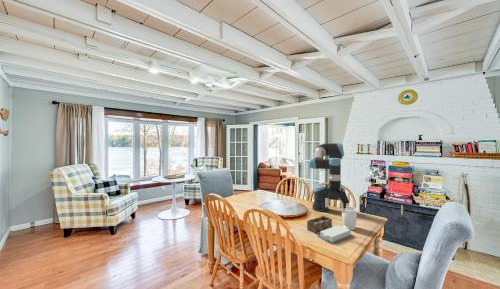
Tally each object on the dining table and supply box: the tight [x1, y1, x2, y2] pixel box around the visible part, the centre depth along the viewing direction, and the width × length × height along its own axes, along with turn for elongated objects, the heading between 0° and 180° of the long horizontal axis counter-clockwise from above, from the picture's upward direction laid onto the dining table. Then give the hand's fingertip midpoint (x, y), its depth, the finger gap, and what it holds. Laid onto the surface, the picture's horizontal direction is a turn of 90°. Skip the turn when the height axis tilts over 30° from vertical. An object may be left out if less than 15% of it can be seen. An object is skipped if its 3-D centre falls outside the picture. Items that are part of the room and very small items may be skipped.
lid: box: [319, 224, 351, 242], centre depth 144 cm, size 22×10×4 cm, turn 120°
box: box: [306, 215, 333, 235], centre depth 157 cm, size 18×8×7 cm, turn 120°
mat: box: [316, 233, 354, 245], centre depth 145 cm, size 22×13×1 cm, turn 120°
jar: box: [341, 205, 358, 231], centre depth 158 cm, size 11×10×15 cm
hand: (334, 209), depth 145 cm, fingers open, 13 cm apart
